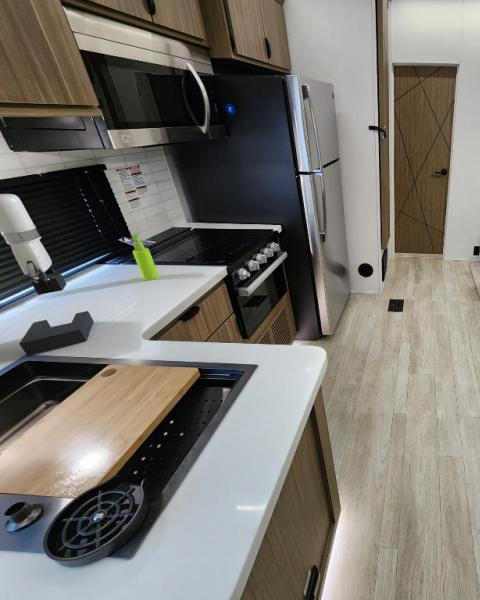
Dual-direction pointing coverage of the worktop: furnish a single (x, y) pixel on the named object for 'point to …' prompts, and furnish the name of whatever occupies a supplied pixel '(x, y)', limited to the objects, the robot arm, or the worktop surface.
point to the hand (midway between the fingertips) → (51, 287)
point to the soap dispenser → (144, 260)
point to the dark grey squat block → (56, 281)
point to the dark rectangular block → (56, 334)
